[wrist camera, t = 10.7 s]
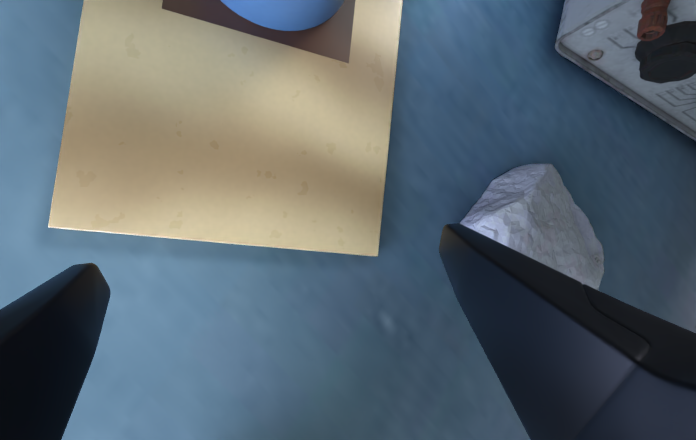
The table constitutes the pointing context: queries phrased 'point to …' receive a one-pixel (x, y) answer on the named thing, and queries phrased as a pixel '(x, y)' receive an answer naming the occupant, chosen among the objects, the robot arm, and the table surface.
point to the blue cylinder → (285, 12)
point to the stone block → (539, 222)
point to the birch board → (229, 125)
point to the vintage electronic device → (637, 52)
